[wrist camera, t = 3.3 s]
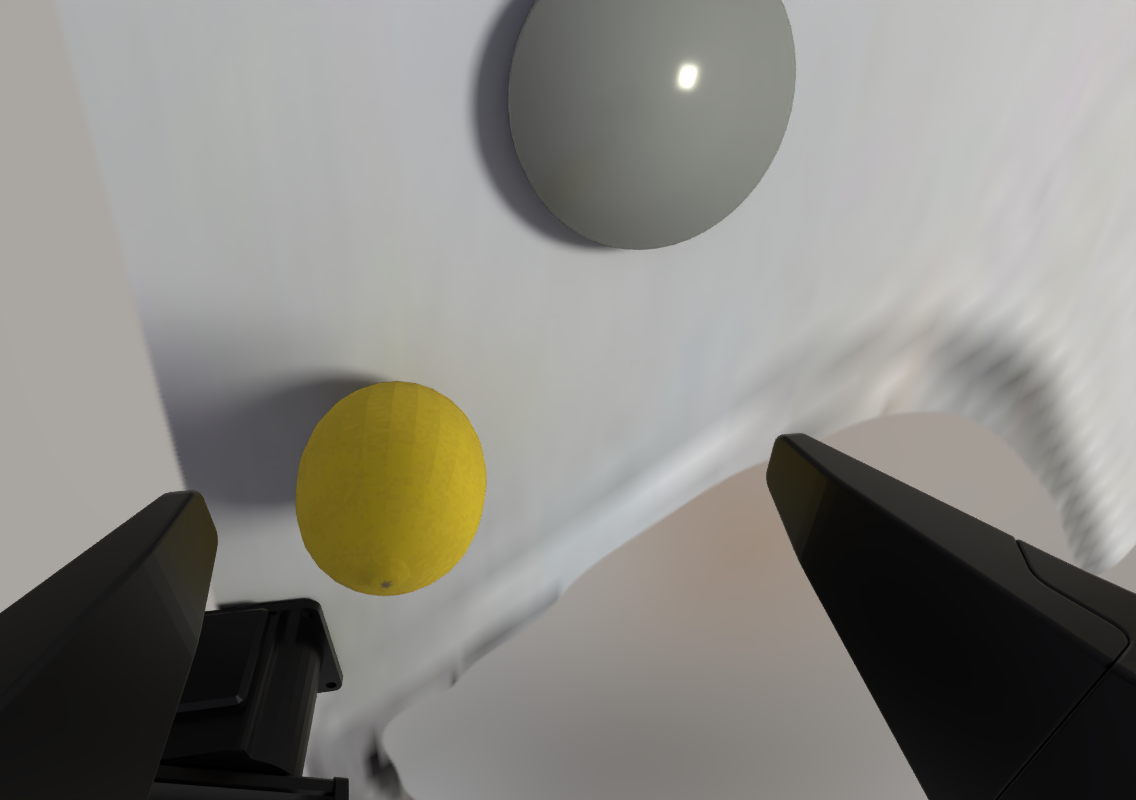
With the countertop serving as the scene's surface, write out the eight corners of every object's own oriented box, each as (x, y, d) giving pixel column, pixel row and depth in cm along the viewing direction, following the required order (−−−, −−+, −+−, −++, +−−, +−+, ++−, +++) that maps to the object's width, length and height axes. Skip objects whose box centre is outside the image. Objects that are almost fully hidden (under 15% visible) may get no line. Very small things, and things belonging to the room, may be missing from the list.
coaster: (748, 235, 20) (761, 246, 19) (510, 242, 19) (513, 253, 18) (811, -65, 16) (830, -68, 15) (503, -83, 14) (507, -87, 14)
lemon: (409, 486, 24) (395, 674, 17) (287, 408, 21) (216, 597, 14) (511, 404, 22) (538, 574, 16) (395, 307, 20) (371, 467, 13)
